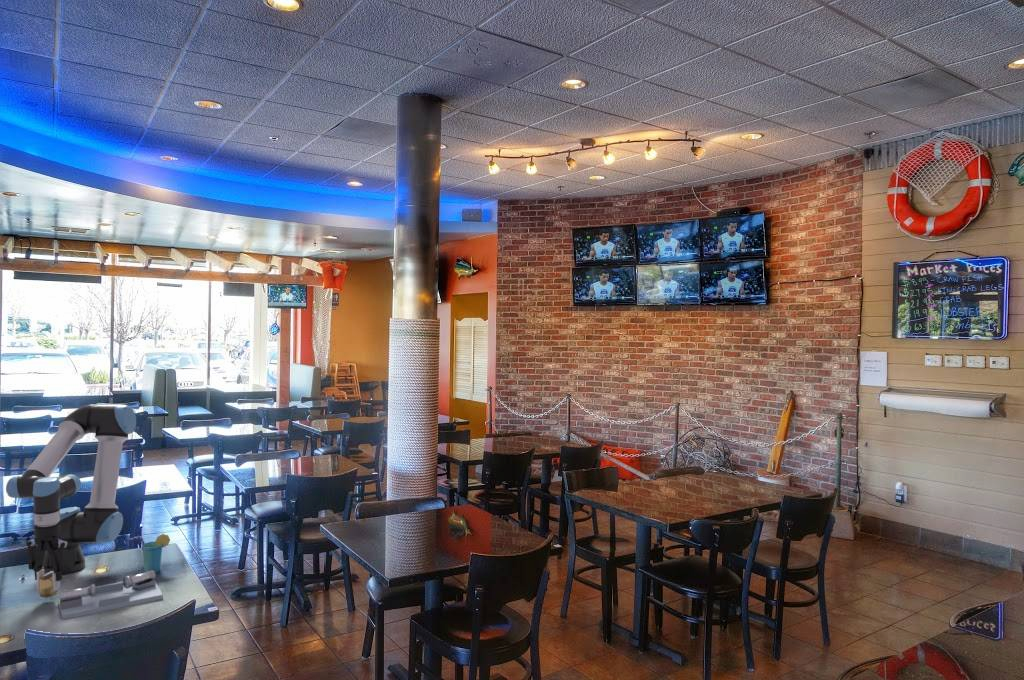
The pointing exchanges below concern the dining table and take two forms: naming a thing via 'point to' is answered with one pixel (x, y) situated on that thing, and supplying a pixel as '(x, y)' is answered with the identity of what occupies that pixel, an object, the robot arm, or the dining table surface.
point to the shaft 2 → (140, 581)
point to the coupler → (46, 585)
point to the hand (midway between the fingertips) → (48, 589)
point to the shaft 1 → (78, 593)
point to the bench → (108, 600)
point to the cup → (153, 552)
